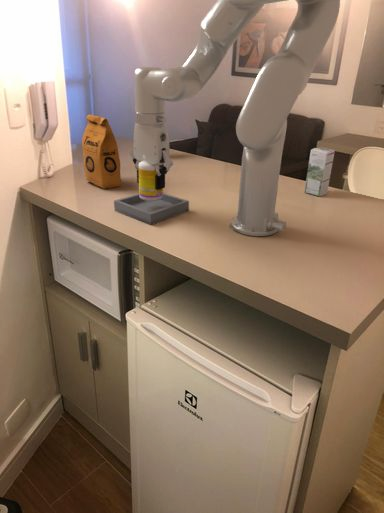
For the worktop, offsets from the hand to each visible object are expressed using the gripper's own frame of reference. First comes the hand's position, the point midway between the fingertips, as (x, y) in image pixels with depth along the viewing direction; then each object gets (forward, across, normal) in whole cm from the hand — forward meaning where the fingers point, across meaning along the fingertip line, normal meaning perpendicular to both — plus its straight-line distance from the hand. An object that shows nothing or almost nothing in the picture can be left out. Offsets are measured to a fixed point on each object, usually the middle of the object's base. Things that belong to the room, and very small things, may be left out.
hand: (150, 185), depth 116 cm
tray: (+8, 0, 0) cm, 8 cm away
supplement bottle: (+4, 0, 0) cm, 4 cm away
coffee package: (+8, +30, -6) cm, 32 cm away
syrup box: (+8, -26, -50) cm, 57 cm away
